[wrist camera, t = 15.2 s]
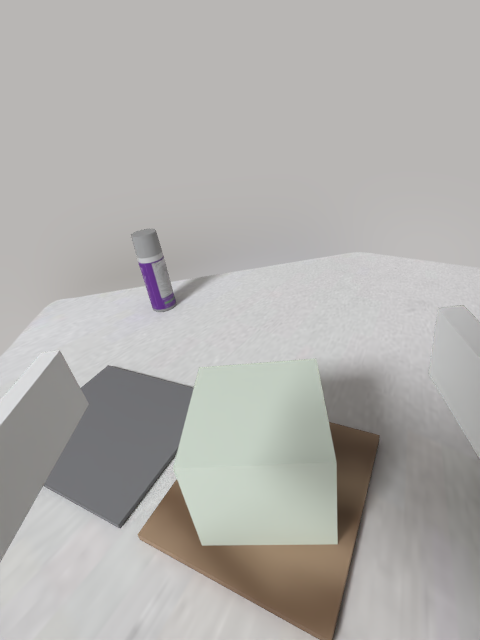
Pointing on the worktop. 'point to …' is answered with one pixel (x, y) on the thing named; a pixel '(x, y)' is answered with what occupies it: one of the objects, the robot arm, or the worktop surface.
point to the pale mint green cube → (259, 456)
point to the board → (280, 547)
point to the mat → (120, 442)
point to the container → (153, 269)
